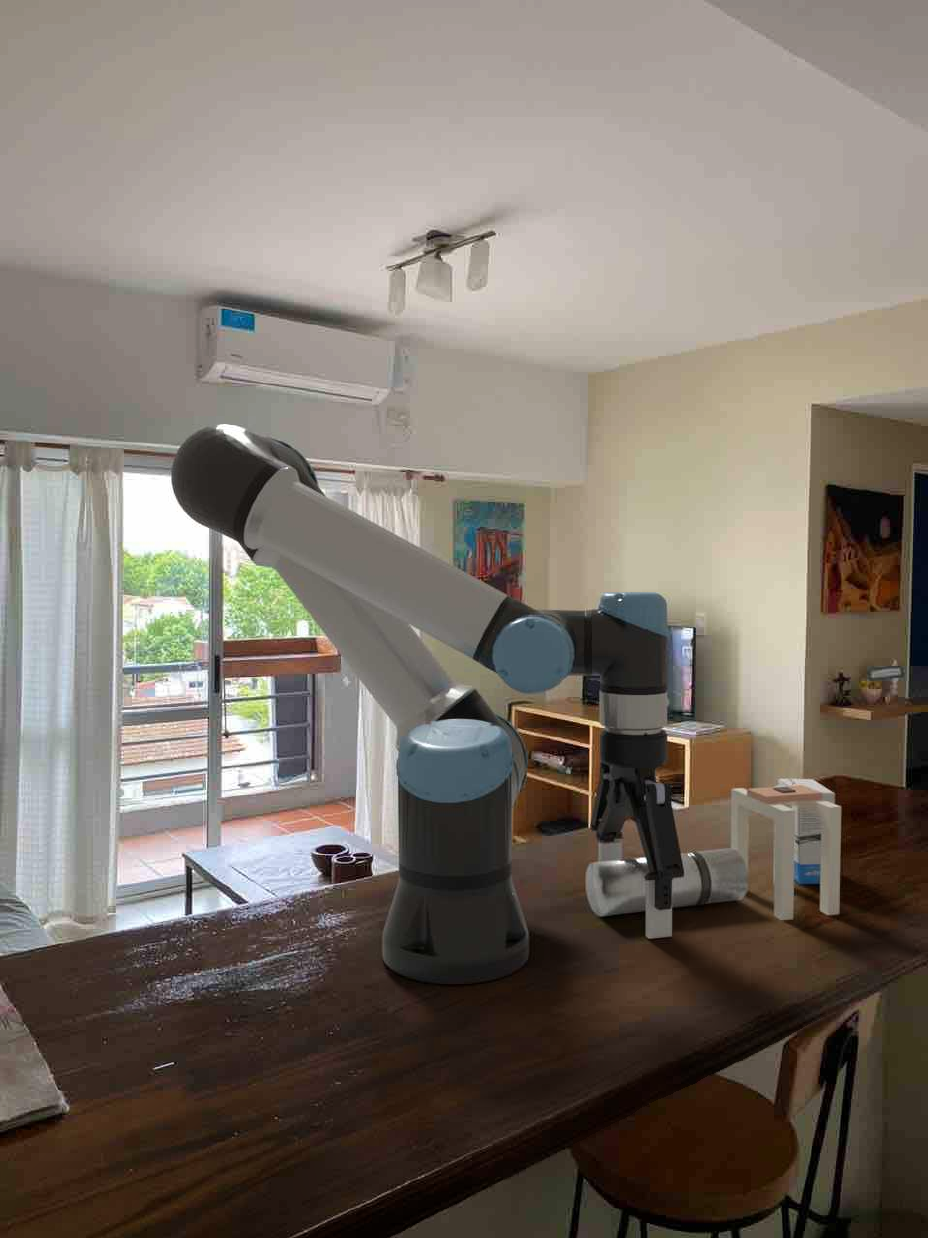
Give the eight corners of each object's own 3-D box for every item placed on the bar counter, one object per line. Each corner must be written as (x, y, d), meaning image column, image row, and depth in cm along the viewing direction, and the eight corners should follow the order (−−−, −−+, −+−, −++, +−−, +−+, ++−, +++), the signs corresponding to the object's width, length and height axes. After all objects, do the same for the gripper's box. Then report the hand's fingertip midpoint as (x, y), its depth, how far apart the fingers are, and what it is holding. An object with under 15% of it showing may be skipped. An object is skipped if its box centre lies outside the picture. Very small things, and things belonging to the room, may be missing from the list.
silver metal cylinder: (612, 902, 103) (596, 852, 107) (596, 926, 108) (581, 877, 112) (754, 885, 108) (734, 838, 112) (733, 909, 113) (714, 863, 117)
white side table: (781, 920, 106) (783, 802, 105) (730, 888, 116) (731, 780, 116) (839, 914, 108) (841, 798, 107) (783, 883, 118) (785, 777, 118)
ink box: (836, 885, 118) (838, 792, 117) (796, 885, 118) (798, 792, 117) (812, 864, 126) (814, 777, 126) (775, 863, 126) (776, 777, 126)
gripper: (719, 746, 95) (717, 953, 96) (619, 711, 119) (619, 877, 120) (651, 750, 93) (650, 961, 94) (564, 714, 117) (564, 883, 118)
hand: (633, 915), depth 107 cm, fingers open, 12 cm apart
